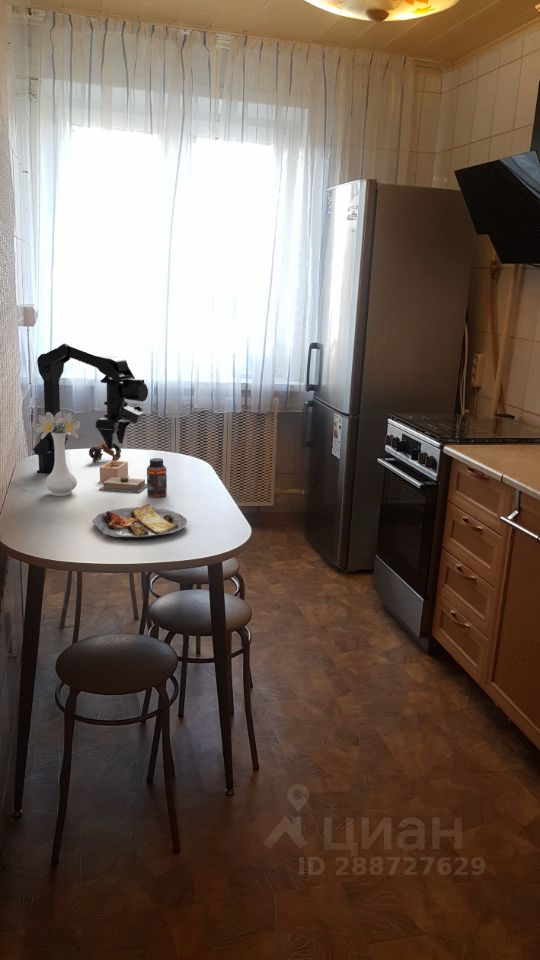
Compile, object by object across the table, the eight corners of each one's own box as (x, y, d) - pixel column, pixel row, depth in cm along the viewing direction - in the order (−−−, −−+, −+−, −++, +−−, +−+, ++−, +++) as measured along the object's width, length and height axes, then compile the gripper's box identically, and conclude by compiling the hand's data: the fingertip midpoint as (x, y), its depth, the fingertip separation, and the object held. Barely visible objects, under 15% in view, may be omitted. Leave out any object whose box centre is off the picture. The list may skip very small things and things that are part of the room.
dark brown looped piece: (104, 458, 283) (115, 440, 280) (118, 473, 278) (128, 455, 276) (79, 455, 273) (89, 436, 271) (92, 470, 268) (103, 451, 266)
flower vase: (85, 485, 243) (83, 407, 237) (78, 501, 226) (75, 417, 219) (43, 485, 242) (39, 406, 235) (33, 501, 224) (28, 417, 218)
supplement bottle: (170, 494, 235) (170, 458, 233) (160, 499, 230) (159, 462, 227) (154, 491, 238) (153, 456, 235) (143, 496, 233) (142, 460, 230)
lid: (137, 490, 237) (137, 481, 237) (103, 488, 239) (103, 479, 238) (144, 484, 244) (144, 476, 243) (112, 482, 246) (111, 474, 245)
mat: (98, 490, 238) (98, 489, 238) (110, 482, 247) (110, 481, 247) (139, 493, 236) (139, 491, 236) (149, 485, 245) (149, 483, 245)
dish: (99, 480, 249) (99, 467, 248) (111, 473, 259) (110, 460, 257) (117, 482, 248) (117, 468, 247) (128, 474, 258) (127, 461, 257)
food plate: (83, 519, 209) (82, 507, 208) (163, 510, 220) (163, 498, 219) (112, 549, 188) (112, 536, 187) (199, 537, 199) (199, 525, 198)
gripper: (129, 404, 232) (129, 454, 236) (149, 395, 250) (149, 442, 254) (94, 401, 234) (95, 451, 238) (117, 393, 252) (117, 439, 256)
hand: (115, 446), depth 247 cm, fingers open, 9 cm apart
